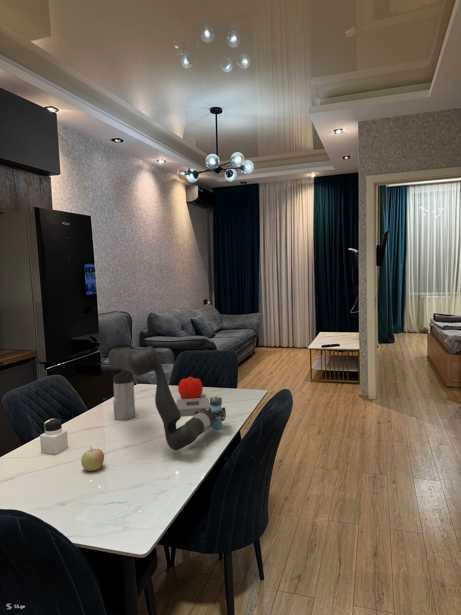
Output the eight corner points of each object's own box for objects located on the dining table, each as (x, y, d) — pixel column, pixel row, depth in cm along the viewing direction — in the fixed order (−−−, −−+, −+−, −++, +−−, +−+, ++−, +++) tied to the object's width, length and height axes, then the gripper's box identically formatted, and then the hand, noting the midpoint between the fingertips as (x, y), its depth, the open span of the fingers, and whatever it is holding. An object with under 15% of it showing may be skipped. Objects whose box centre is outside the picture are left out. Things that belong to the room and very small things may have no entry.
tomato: (201, 401, 221) (201, 381, 221) (176, 401, 222) (176, 382, 221) (203, 393, 235) (203, 375, 234) (180, 394, 235) (179, 375, 234)
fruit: (92, 475, 142) (90, 452, 141) (77, 471, 146) (76, 448, 145) (109, 466, 148) (108, 444, 147) (95, 462, 152) (94, 440, 151)
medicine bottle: (68, 447, 166) (66, 418, 165) (55, 455, 159) (53, 424, 158) (54, 445, 168) (52, 416, 167) (40, 453, 162) (38, 422, 161)
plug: (211, 430, 179) (209, 399, 178) (210, 426, 184) (209, 395, 183) (223, 429, 179) (222, 398, 178) (222, 425, 185) (221, 395, 183)
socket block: (176, 416, 198) (175, 409, 198) (177, 406, 214) (176, 399, 214) (210, 414, 199) (209, 407, 199) (208, 404, 215) (208, 397, 215)
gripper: (217, 414, 165) (233, 402, 181) (185, 411, 170) (203, 399, 186) (218, 433, 166) (234, 419, 181) (185, 429, 171) (204, 415, 187)
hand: (218, 409), depth 184 cm, fingers closed on plug, 4 cm apart
